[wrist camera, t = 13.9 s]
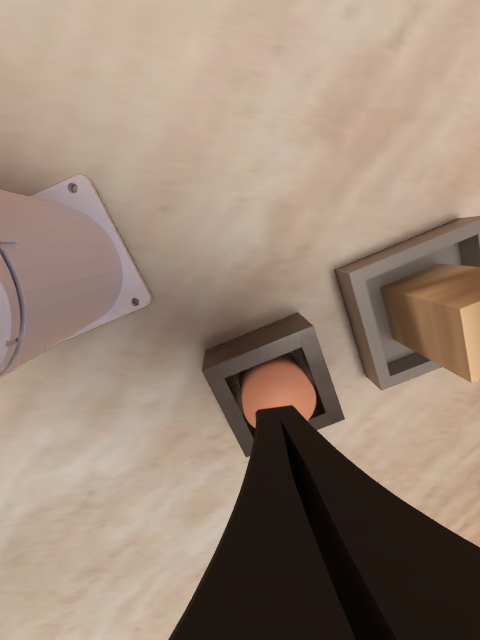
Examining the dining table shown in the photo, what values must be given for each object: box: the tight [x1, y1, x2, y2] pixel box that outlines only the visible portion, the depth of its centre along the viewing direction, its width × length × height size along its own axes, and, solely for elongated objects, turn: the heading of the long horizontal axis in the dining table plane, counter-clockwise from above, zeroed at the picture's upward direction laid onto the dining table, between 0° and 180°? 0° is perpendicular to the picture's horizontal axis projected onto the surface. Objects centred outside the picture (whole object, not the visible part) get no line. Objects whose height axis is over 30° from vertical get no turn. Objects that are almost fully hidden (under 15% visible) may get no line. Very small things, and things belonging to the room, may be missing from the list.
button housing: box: [202, 313, 345, 457], centre depth 18 cm, size 7×7×3 cm
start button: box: [240, 353, 316, 428], centre depth 17 cm, size 4×4×3 cm
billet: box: [380, 263, 480, 383], centre depth 15 cm, size 4×4×6 cm
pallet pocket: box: [335, 216, 480, 390], centre depth 17 cm, size 9×9×2 cm
